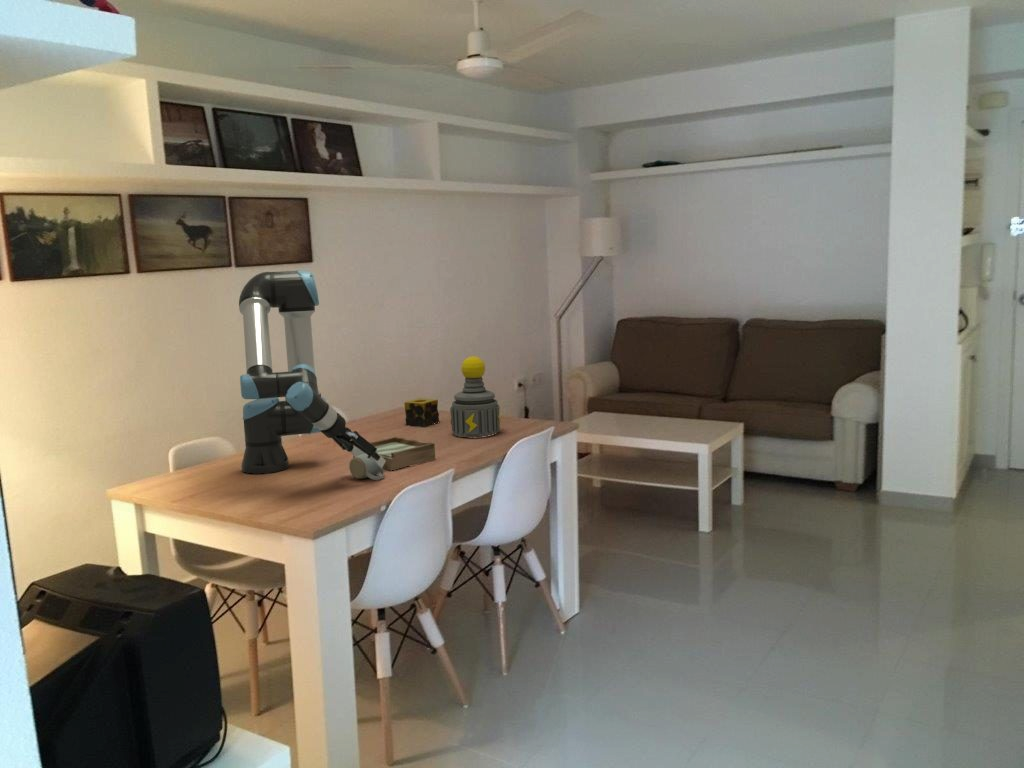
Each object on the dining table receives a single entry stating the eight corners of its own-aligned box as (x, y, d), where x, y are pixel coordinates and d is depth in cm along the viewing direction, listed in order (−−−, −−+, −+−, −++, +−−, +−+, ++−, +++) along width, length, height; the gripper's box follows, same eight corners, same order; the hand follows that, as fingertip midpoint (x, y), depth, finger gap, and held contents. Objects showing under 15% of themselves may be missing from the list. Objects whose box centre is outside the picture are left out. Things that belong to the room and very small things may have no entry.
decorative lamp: (503, 428, 332) (500, 352, 328) (497, 438, 314) (494, 358, 309) (456, 429, 335) (452, 354, 330) (447, 439, 316) (443, 360, 312)
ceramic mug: (347, 478, 263) (347, 454, 262) (365, 472, 270) (365, 449, 269) (373, 483, 257) (372, 458, 256) (390, 477, 264) (390, 453, 263)
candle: (440, 423, 348) (438, 399, 347) (424, 427, 340) (423, 403, 338) (420, 421, 353) (419, 397, 352) (405, 425, 345) (403, 401, 343)
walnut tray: (353, 462, 285) (352, 446, 284) (397, 451, 298) (396, 436, 298) (391, 471, 271) (390, 454, 270) (435, 459, 285) (434, 443, 284)
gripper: (301, 427, 258) (348, 467, 272) (342, 435, 244) (389, 477, 258) (315, 407, 261) (360, 448, 275) (356, 414, 247) (401, 456, 261)
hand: (374, 462), depth 267 cm, fingers closed on ceramic mug, 8 cm apart
